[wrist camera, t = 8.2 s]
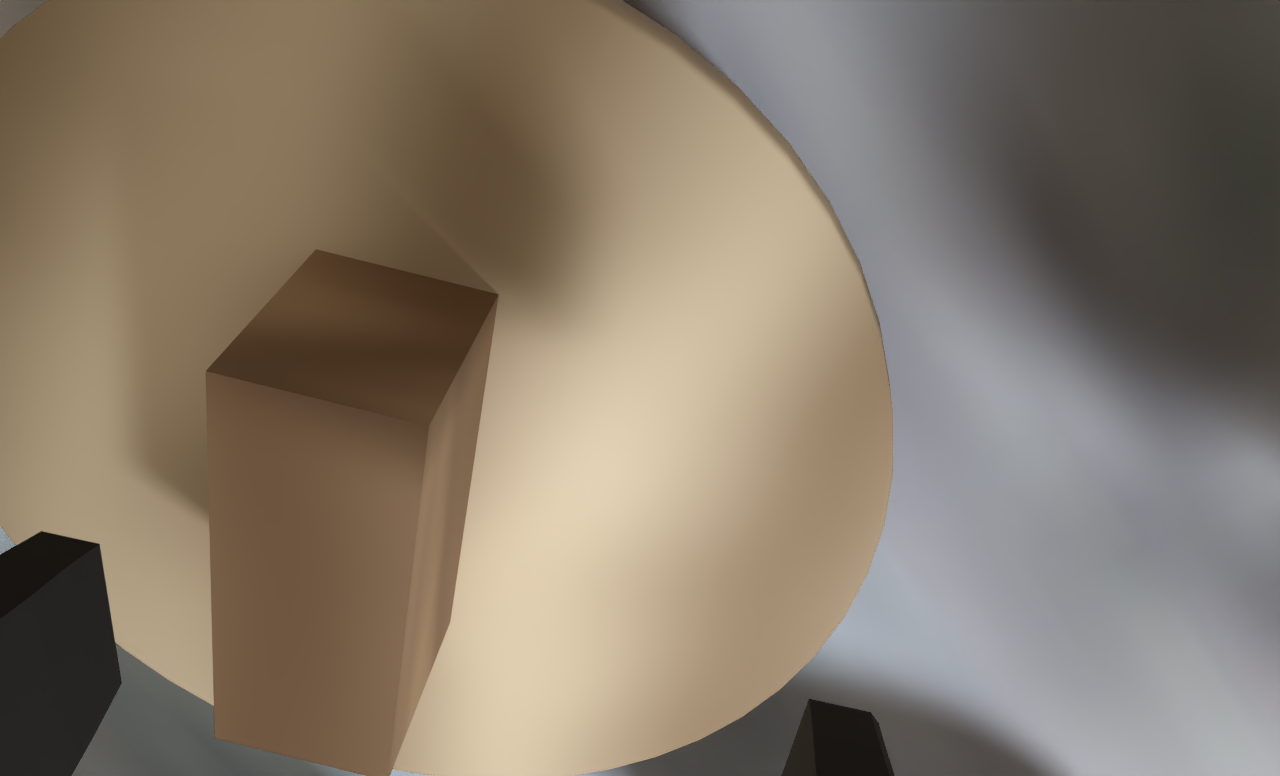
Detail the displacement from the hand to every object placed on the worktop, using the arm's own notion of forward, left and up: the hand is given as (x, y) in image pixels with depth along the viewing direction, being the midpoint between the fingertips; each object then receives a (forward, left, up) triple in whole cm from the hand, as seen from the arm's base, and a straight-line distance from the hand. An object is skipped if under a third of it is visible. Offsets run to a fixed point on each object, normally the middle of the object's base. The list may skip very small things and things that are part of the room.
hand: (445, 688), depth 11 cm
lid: (+2, +1, -5) cm, 6 cm away
